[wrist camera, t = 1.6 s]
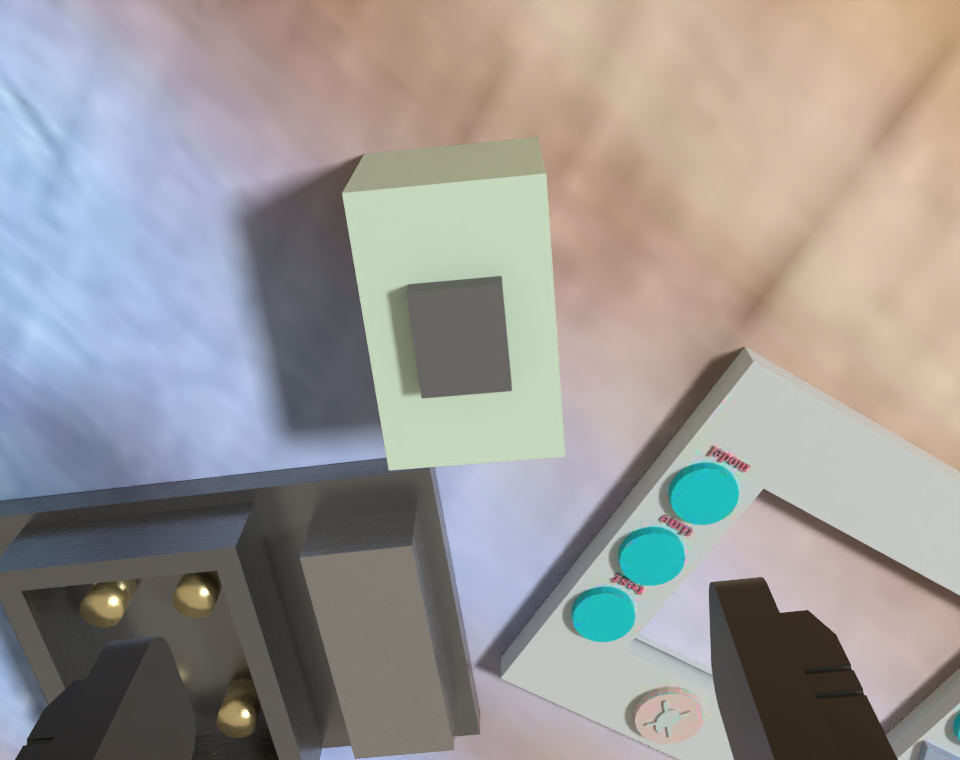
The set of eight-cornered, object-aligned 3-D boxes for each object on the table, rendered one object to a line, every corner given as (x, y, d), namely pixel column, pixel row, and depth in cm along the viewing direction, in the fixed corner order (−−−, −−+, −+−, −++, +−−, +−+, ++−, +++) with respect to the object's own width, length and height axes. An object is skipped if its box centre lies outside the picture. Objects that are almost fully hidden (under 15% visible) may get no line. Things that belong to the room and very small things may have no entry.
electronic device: (1183, 614, 31) (886, 861, 37) (1141, 572, 33) (865, 812, 39) (757, 367, 27) (500, 687, 33) (739, 337, 29) (500, 643, 35)
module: (364, 152, 26) (337, 199, 22) (537, 135, 26) (547, 179, 21) (402, 397, 30) (386, 481, 25) (555, 384, 30) (566, 467, 25)
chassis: (-23, 503, 32) (-80, 567, 28) (431, 453, 30) (425, 513, 27) (89, 749, 37) (51, 825, 34) (480, 713, 36) (479, 789, 33)
